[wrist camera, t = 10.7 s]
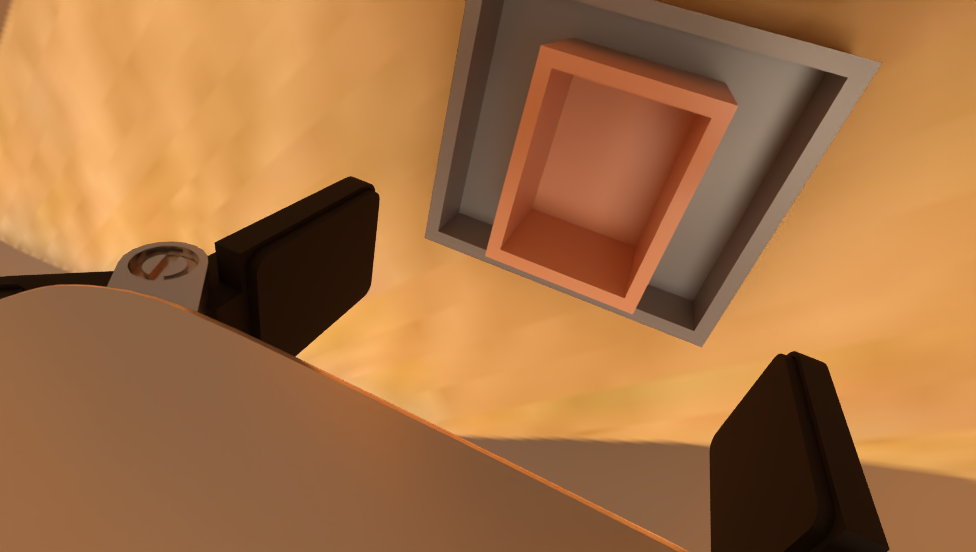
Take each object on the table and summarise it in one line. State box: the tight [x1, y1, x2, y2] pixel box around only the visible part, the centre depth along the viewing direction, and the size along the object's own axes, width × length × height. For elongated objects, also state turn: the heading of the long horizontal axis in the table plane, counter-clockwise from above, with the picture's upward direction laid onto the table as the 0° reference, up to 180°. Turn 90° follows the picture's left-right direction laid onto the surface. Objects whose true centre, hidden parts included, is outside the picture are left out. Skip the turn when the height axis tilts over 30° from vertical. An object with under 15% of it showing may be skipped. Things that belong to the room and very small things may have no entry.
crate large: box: [425, 0, 882, 347], centre depth 23 cm, size 13×15×4 cm
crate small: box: [485, 37, 738, 314], centre depth 21 cm, size 9×7×6 cm
